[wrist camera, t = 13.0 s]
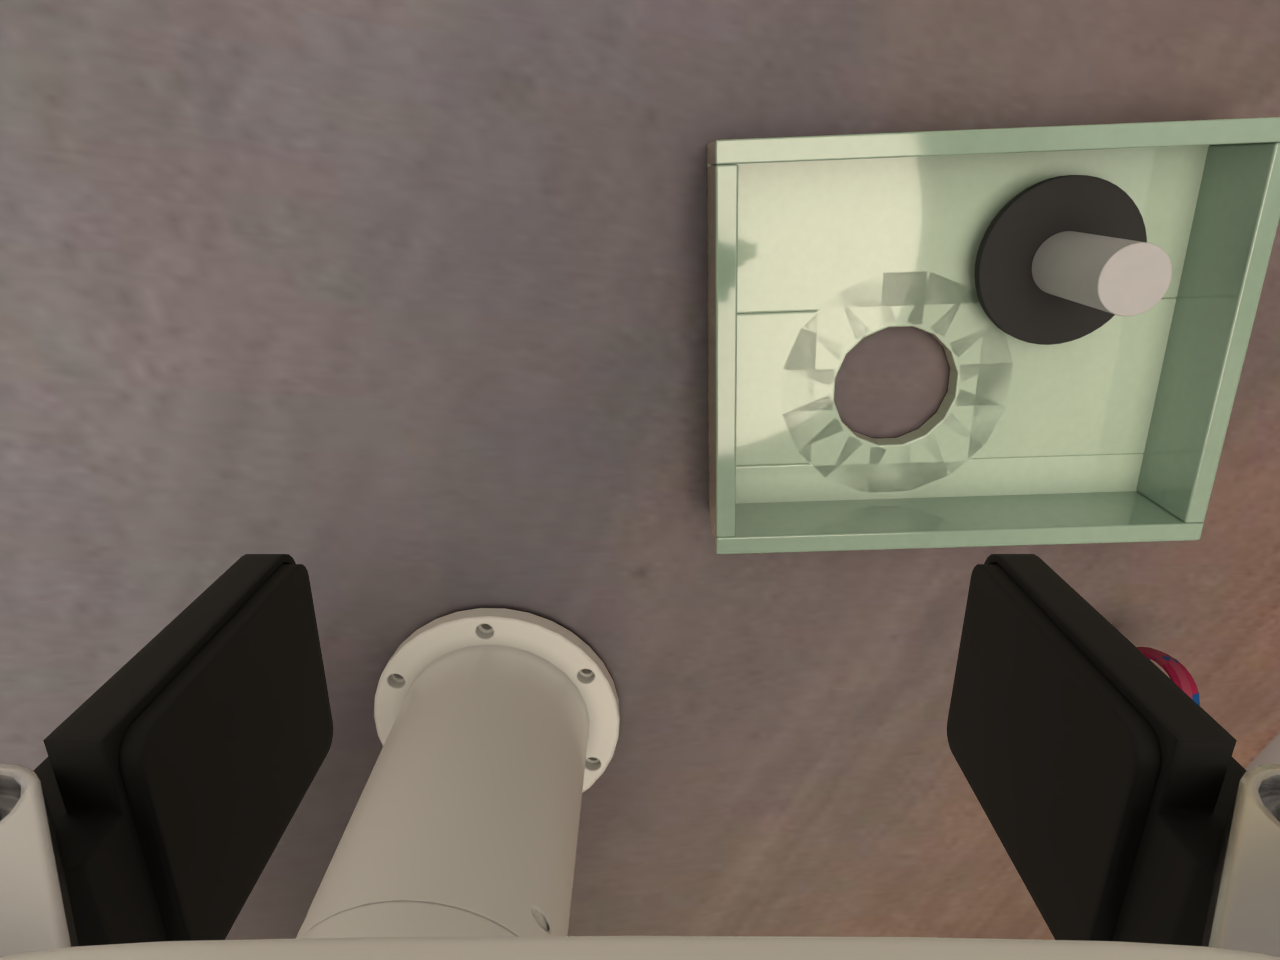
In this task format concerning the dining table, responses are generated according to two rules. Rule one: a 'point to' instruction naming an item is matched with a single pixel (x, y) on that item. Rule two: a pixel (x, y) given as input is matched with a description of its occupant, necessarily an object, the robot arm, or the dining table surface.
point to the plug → (1067, 261)
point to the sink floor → (936, 328)
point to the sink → (1188, 386)
